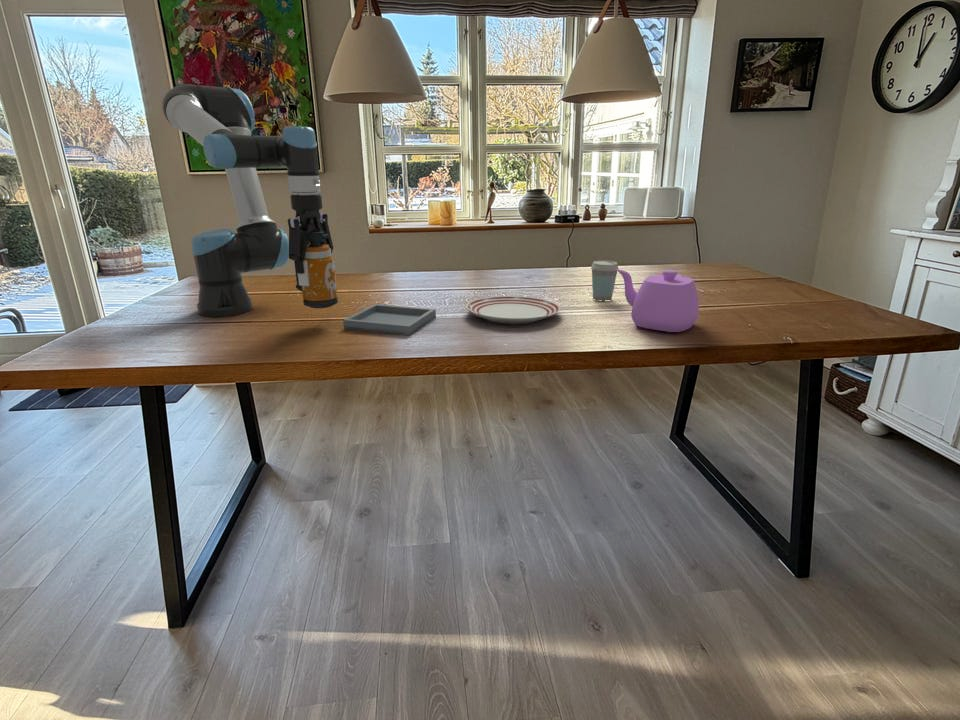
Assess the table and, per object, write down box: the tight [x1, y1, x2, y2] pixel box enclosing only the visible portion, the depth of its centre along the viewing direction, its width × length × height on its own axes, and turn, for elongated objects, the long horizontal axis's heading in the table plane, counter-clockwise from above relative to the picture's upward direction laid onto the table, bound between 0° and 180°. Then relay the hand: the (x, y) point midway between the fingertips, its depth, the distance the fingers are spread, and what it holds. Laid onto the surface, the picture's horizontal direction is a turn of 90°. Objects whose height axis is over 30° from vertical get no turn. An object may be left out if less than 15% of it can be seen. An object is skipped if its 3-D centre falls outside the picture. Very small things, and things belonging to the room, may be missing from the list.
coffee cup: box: [590, 260, 620, 301], centre depth 166 cm, size 9×9×12 cm
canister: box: [293, 230, 339, 309], centre depth 138 cm, size 9×11×20 cm
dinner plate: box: [465, 295, 561, 325], centre depth 152 cm, size 28×27×3 cm
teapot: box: [616, 268, 700, 333], centre depth 142 cm, size 23×21×15 cm
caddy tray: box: [342, 303, 437, 336], centre depth 144 cm, size 19×17×2 cm
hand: (315, 281), depth 140 cm, fingers closed on canister, 9 cm apart
